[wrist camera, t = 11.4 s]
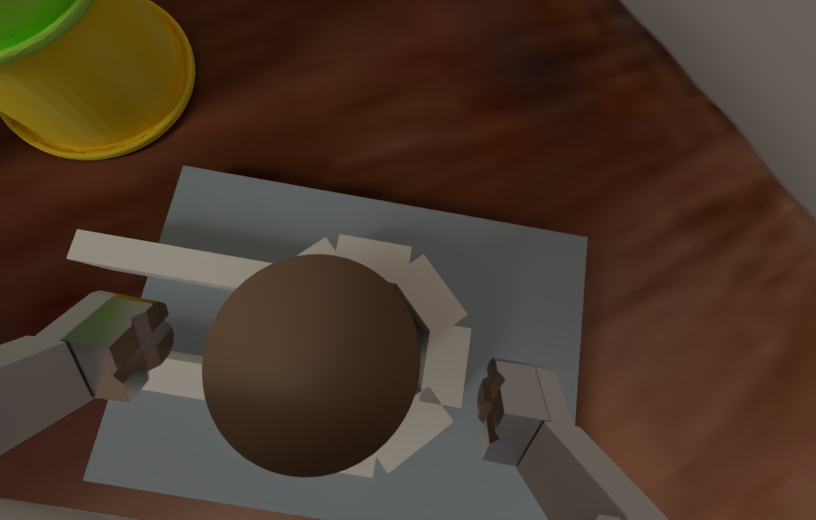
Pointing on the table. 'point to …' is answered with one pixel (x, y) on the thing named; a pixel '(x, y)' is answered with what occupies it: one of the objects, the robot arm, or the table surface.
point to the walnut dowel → (311, 365)
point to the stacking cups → (92, 74)
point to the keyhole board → (428, 305)
